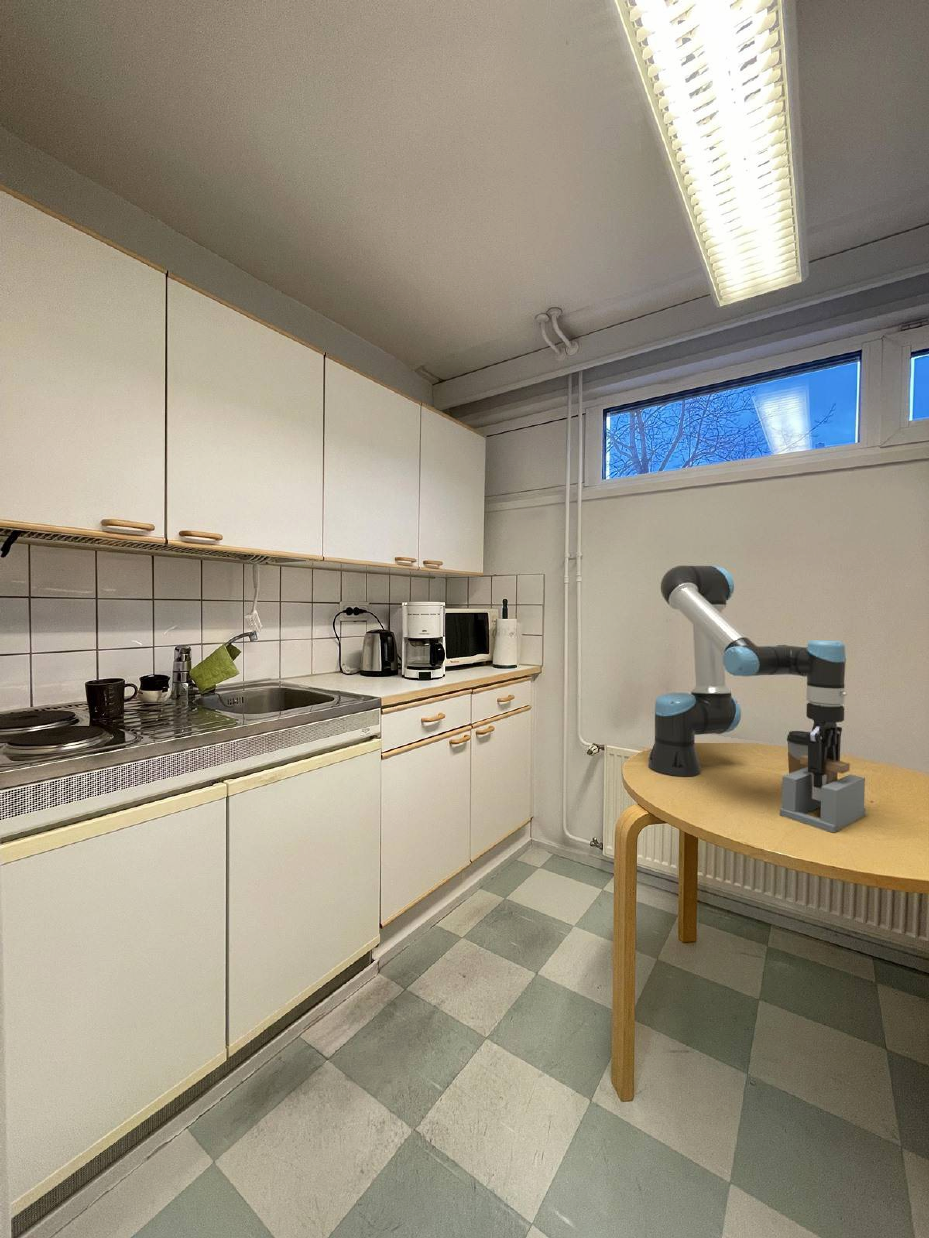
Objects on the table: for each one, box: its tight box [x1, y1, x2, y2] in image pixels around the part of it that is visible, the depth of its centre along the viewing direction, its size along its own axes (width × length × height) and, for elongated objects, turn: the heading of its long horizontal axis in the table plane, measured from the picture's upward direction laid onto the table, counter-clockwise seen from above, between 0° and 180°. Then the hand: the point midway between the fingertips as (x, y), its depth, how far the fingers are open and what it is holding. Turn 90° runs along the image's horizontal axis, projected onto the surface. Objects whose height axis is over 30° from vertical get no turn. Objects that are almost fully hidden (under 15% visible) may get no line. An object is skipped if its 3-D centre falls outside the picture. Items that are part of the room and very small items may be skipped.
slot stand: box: [779, 767, 867, 834], centre depth 122 cm, size 11×18×10 cm, turn 123°
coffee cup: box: [786, 730, 808, 774], centre depth 142 cm, size 8×8×15 cm
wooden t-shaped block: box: [800, 754, 851, 799], centre depth 122 cm, size 9×4×10 cm, turn 33°
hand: (823, 797), depth 122 cm, fingers closed on wooden t-shaped block, 4 cm apart
